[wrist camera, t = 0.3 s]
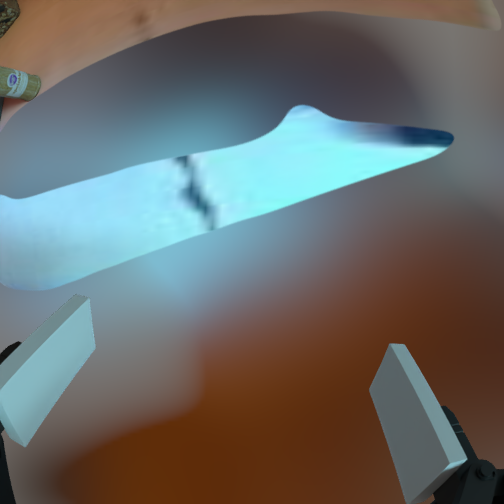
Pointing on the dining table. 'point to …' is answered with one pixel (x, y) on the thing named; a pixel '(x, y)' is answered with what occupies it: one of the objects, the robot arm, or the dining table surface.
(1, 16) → the bread
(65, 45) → the dining table surface
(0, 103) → the tray
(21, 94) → the sprinkles bottle
